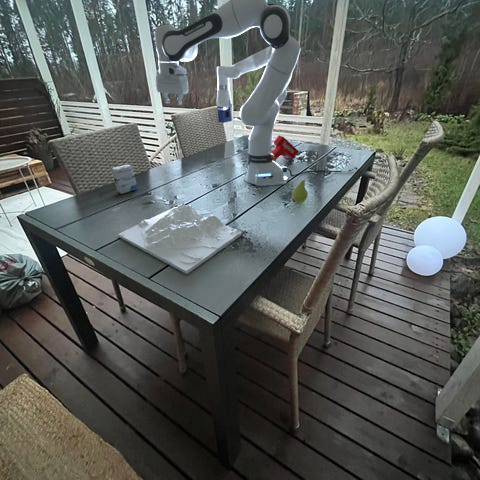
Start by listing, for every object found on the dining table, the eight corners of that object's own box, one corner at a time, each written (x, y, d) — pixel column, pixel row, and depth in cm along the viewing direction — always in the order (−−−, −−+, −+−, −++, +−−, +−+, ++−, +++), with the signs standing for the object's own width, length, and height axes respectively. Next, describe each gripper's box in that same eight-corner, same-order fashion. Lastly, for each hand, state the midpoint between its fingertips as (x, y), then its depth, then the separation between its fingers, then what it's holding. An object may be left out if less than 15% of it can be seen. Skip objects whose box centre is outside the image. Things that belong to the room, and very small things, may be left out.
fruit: (288, 200, 123) (290, 174, 116) (302, 197, 125) (305, 172, 119) (296, 206, 118) (299, 179, 111) (310, 203, 120) (314, 177, 114)
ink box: (133, 186, 138) (127, 163, 132) (137, 189, 135) (132, 165, 129) (116, 191, 133) (110, 167, 127) (121, 194, 130) (114, 170, 124)
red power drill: (268, 157, 168) (282, 135, 165) (265, 155, 171) (278, 134, 168) (286, 171, 180) (299, 151, 177) (282, 169, 183) (295, 150, 180)
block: (218, 121, 193) (217, 109, 188) (226, 120, 198) (225, 107, 194) (223, 122, 190) (223, 109, 185) (231, 120, 195) (231, 108, 190)
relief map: (186, 274, 80) (184, 260, 77) (118, 236, 97) (114, 224, 95) (241, 234, 98) (241, 222, 95) (176, 209, 116) (174, 198, 113)
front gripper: (150, 70, 126) (155, 103, 134) (177, 70, 115) (181, 106, 123) (161, 69, 130) (166, 101, 138) (189, 69, 119) (192, 104, 127)
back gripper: (210, 87, 185) (212, 116, 195) (229, 88, 175) (230, 118, 185) (218, 87, 190) (220, 115, 199) (236, 87, 180) (237, 117, 190)
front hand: (173, 103), depth 130 cm, fingers open, 8 cm apart
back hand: (225, 116), depth 192 cm, fingers closed on block, 5 cm apart
